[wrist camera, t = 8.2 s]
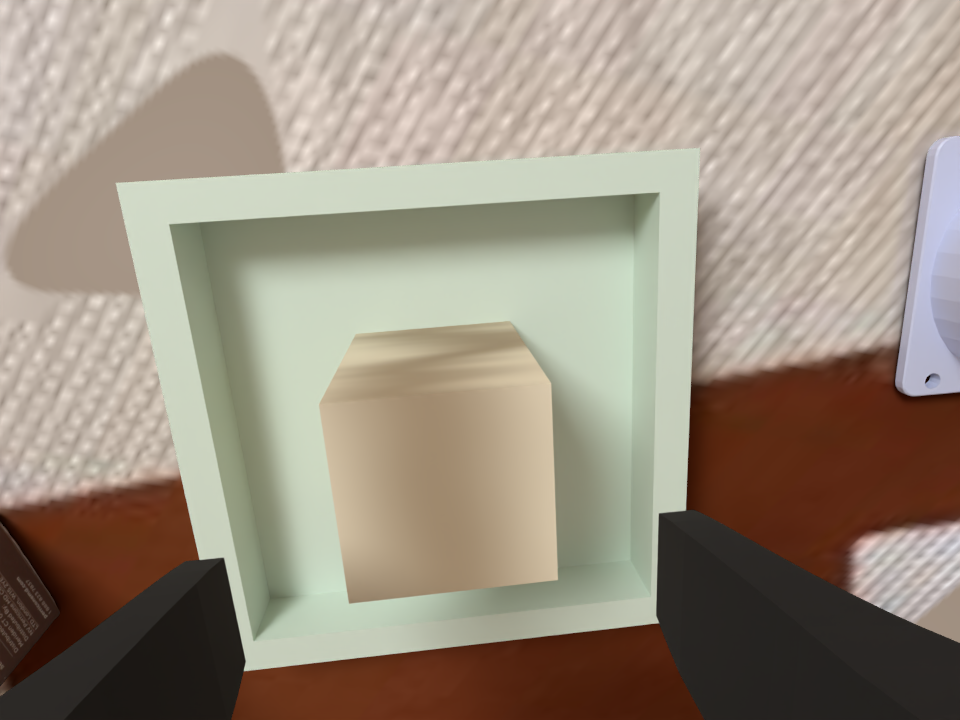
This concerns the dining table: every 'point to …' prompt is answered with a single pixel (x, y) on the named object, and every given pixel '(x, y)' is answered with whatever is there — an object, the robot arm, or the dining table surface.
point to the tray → (414, 305)
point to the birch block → (441, 462)
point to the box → (20, 605)
